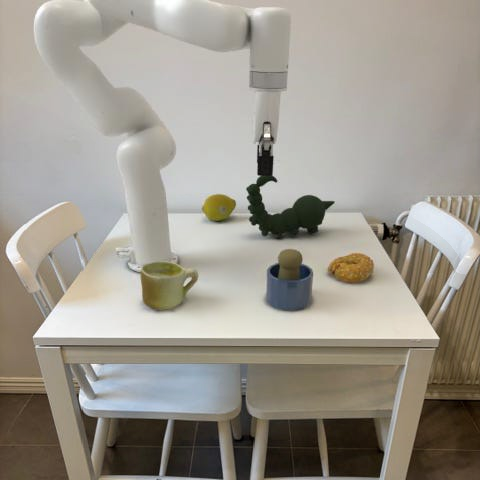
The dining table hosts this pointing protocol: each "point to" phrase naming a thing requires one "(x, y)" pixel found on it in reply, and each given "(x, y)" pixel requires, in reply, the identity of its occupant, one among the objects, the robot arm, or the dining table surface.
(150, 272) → the mug
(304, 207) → the toy figurine
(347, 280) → the bagel
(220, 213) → the lemon
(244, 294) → the dining table surface
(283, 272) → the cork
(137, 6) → the robot arm
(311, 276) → the crock
